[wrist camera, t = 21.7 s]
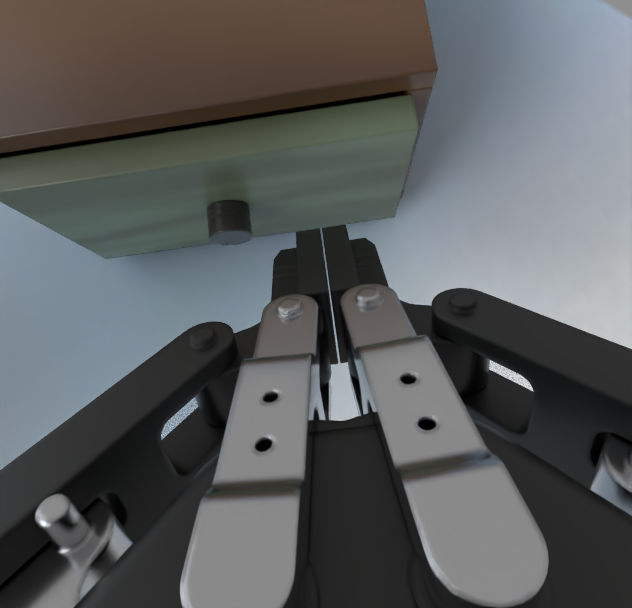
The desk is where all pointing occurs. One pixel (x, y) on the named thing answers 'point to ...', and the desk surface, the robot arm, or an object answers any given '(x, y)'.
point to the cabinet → (198, 62)
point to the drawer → (220, 178)
